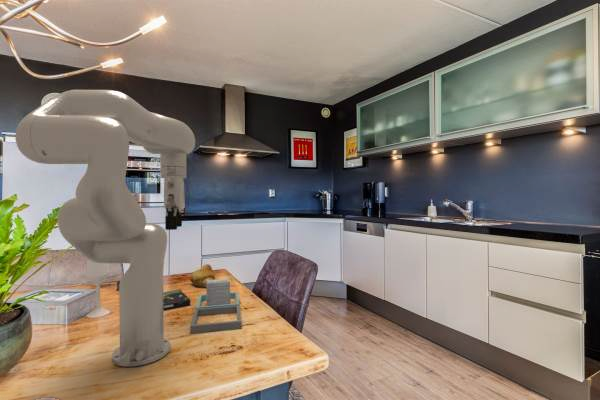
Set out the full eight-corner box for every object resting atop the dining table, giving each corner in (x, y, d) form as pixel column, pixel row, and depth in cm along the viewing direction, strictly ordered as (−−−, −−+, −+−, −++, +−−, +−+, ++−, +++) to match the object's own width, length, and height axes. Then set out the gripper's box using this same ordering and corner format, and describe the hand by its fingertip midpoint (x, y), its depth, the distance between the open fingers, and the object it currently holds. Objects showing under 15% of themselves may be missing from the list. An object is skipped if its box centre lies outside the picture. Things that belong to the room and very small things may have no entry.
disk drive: (191, 307, 109) (179, 296, 121) (191, 299, 109) (179, 288, 121) (159, 313, 103) (150, 301, 115) (159, 305, 103) (150, 293, 115)
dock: (241, 328, 90) (241, 321, 90) (190, 333, 87) (190, 326, 86) (237, 297, 118) (237, 291, 118) (199, 300, 115) (199, 294, 115)
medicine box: (229, 302, 113) (228, 278, 113) (230, 306, 108) (230, 281, 108) (206, 304, 110) (206, 280, 110) (206, 308, 106) (206, 283, 106)
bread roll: (218, 287, 132) (218, 268, 132) (195, 290, 127) (194, 271, 127) (210, 280, 143) (210, 262, 143) (188, 283, 138) (188, 265, 138)
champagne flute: (107, 316, 100) (106, 241, 99) (82, 318, 98) (81, 242, 97) (112, 309, 106) (112, 238, 106) (89, 311, 104) (89, 239, 104)
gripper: (182, 171, 90) (183, 230, 90) (189, 175, 107) (189, 225, 107) (154, 170, 88) (154, 231, 88) (166, 175, 105) (166, 226, 105)
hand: (174, 228), depth 98 cm, fingers open, 9 cm apart
